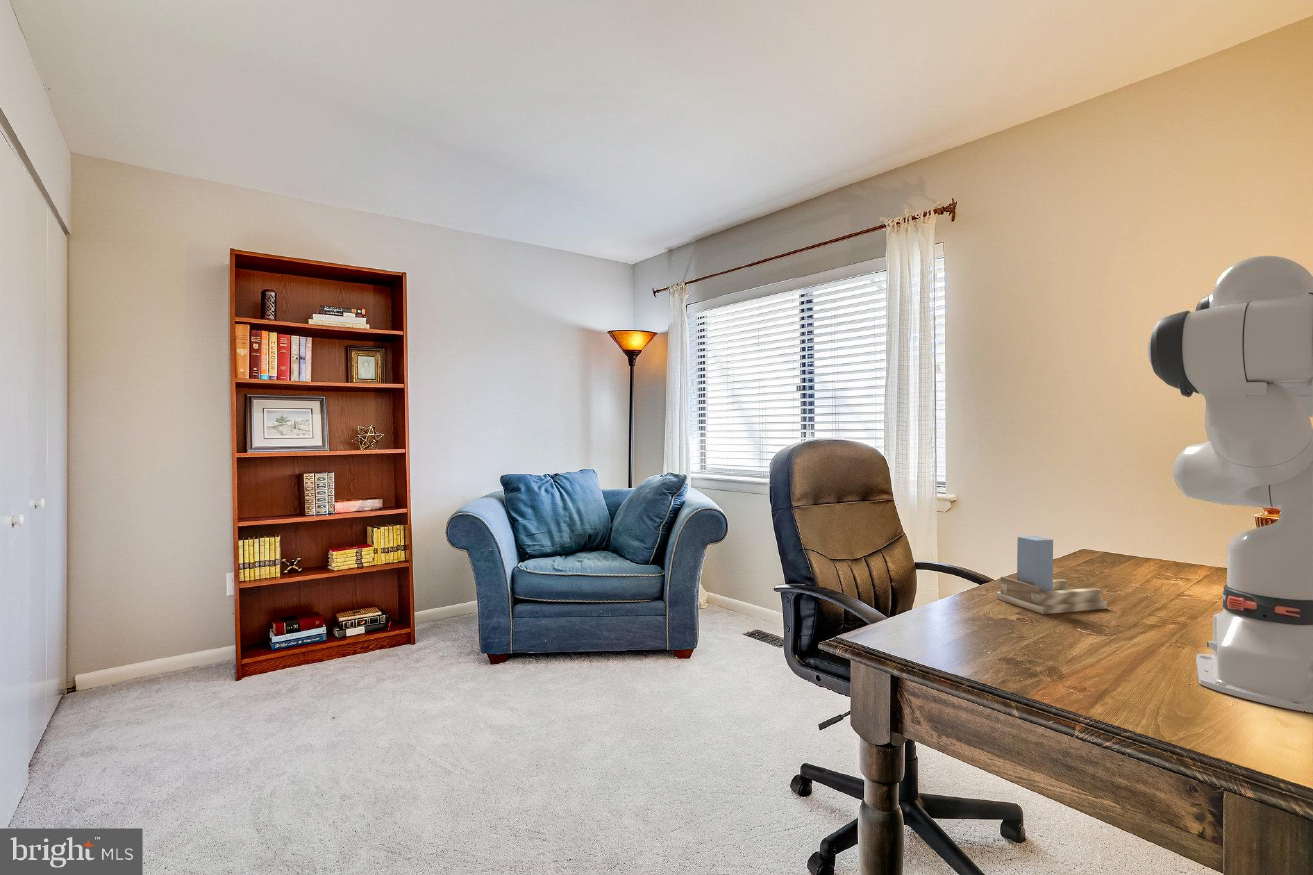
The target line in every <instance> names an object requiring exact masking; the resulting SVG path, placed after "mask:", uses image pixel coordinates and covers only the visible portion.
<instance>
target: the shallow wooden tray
mask: <svg viewBox="0 0 1313 875" xmlns="http://www.w3.org/2000/svg"><path fill="white" fill-rule="evenodd" d="M1068 585H1069V584H1068V580H1066V579H1062V578H1057V579H1053V591H1045V592H1042V588H1041V587H1038V586H1035V585H1031V584H1028V583H1024V582H1021V581H1017V579H1014V578H1011V577H1007V576H1000V591H998V592H996V598H995V599H997V600H1000V601H1003V602H1005V603H1008V604H1011V605H1014V606H1018V607H1021V608H1023V609H1027V610H1030V611H1032V612H1035V613H1038V614H1041V615H1046V614H1059V613H1070V612H1071V613H1072V612H1082V611H1083V612H1084V611H1094V610H1095V611H1096V610H1105V609H1108V606H1107V603H1108V602H1107V601H1104V600H1102V598H1103V597H1102V596H1103V589H1100V588H1098V587H1090V588H1089V587H1088V588H1075V589H1072V588H1071V589H1068V587H1069V586H1068Z"/></svg>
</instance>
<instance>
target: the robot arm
mask: <svg viewBox="0 0 1313 875" xmlns="http://www.w3.org/2000/svg"><path fill="white" fill-rule="evenodd" d="M1147 357H1148V360H1149V363H1150V365H1151V366H1152V370H1153V372H1154V374H1155V375H1156V376H1157V377H1158V378H1159V379H1160V380H1161V381H1163V382H1164V383H1165V384H1166V385H1168V386H1170V387H1172V388H1175V389H1177V390H1179V391H1180V395H1182V397H1186V398H1190V397H1192V396H1193V394H1194V393H1195V394H1198V395H1199V394H1200V395H1202V396H1203V397H1204V399H1205V410H1204V413H1205V414H1204V428H1205V432H1206V433H1205V434H1206V436H1207V439H1208V441H1204V442H1198V443H1193V444H1190V445H1187V446H1186V447H1185V448H1183V449H1182V450H1181V451H1180V452H1179V454H1178V455H1177V456H1176V458H1175V460H1174V463H1173V466H1172V476H1173V480H1174V482H1175V484H1176V486H1177V488H1178V489H1179V490H1180V491H1181V493H1183V495H1185V496H1186V497H1187V498H1190V499H1194V500H1199V501H1203V502H1208V503H1214V504H1218V505H1226V506H1238V507H1253V508H1266V509H1267V508H1268V509H1275V510H1278V511H1280V515H1279V517H1278V519H1277V520H1276V521H1275V522H1273V523H1271V524H1267V525H1262V526H1258V527H1255V528H1252V529H1249V530H1246V531H1243V532H1240V533H1238V534H1237V535H1235V536H1234V537H1232V538H1231V540H1230V541H1229V542H1228V545H1227V555H1226V556H1227V557H1226V558H1227V560H1226V562H1227V564H1226V565H1227V567H1226V568H1227V570H1226V584H1225V585H1223V592H1222V595H1221V596H1222V597H1221V598H1222V608H1223V610H1221V611H1219V612H1217V613H1216V614H1213V618H1212V619H1213V620H1212V623H1213V624H1212V641H1211V640H1208V642H1206V644H1207V645H1206V647H1207V648H1208V650H1212V654H1211V653H1197V654H1196V657H1195V663H1196V670H1197V671H1196V672H1197V678H1198V683H1199V684H1200V685H1202V686H1204V687H1206V688H1209V689H1211V690H1214V691H1217V692H1220V693H1224V694H1227V695H1230V696H1233V697H1236V698H1237V697H1238V698H1242V699H1245V700H1250V701H1252V702H1257V703H1261V704H1265V705H1270V706H1275V707H1279V708H1283V709H1288V710H1293V711H1298V712H1304V711H1305V713H1312V714H1313V425H1312V420H1311V418H1313V275H1312V273H1310V271H1309V270H1307V268H1306V267H1304V265H1301V264H1300V263H1298V262H1296V261H1294V260H1291V259H1289V258H1285V257H1281V256H1277V255H1258V256H1252V257H1248V258H1246V259H1245V258H1244V259H1242V260H1240V261H1238V262H1236V263H1234V264H1232V265H1231V266H1229V267H1228V268H1227V269H1226V270H1224V271H1223V273H1222V274H1221V275H1220V276H1219V277H1218V278H1217V280H1216V282H1215V284H1214V287H1213V289H1212V293H1210V294H1209V295H1206V296H1203V297H1202V298H1200V299H1199V301H1198V302H1197V305H1196V306H1195V310H1194V311H1190V310H1185V311H1180V312H1177V313H1173V314H1170V315H1167V316H1165V317H1163V318H1161V319H1160V320H1159V321H1158V322H1156V324H1155V325H1154V326H1153V328H1152V332H1151V334H1150V336H1149V339H1148V344H1147Z"/></svg>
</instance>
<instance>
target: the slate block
mask: <svg viewBox="0 0 1313 875" xmlns="http://www.w3.org/2000/svg"><path fill="white" fill-rule="evenodd" d="M1016 546H1017V553H1016V554H1017V557H1016V558H1017V560H1016V563H1017V564H1016V580H1017V581H1021V582H1024V583H1028V584H1031V585H1035V586H1038V587H1041V588H1042V592H1045V591H1053V580H1054V579H1053V578H1054V577H1053V576H1054V539H1052V538H1048V537H1047V538H1046V537H1041V536H1037V535H1030V536H1017V545H1016Z"/></svg>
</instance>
